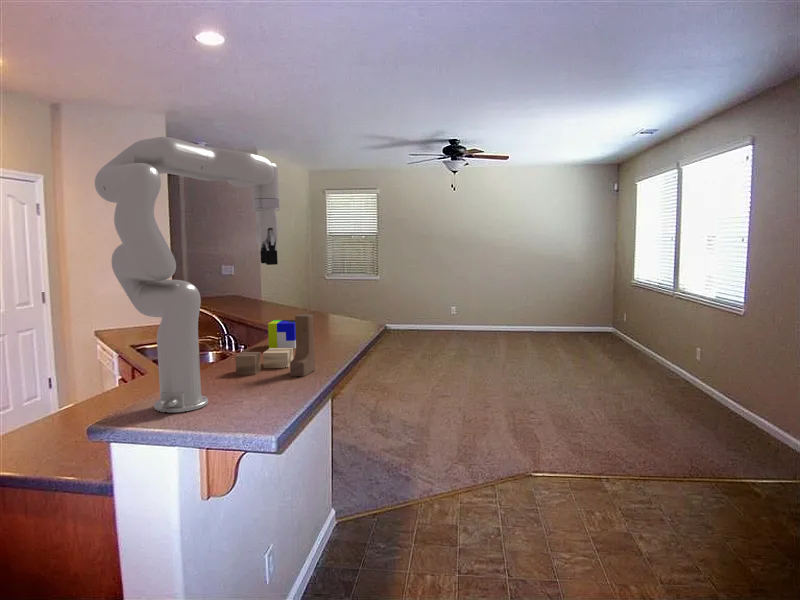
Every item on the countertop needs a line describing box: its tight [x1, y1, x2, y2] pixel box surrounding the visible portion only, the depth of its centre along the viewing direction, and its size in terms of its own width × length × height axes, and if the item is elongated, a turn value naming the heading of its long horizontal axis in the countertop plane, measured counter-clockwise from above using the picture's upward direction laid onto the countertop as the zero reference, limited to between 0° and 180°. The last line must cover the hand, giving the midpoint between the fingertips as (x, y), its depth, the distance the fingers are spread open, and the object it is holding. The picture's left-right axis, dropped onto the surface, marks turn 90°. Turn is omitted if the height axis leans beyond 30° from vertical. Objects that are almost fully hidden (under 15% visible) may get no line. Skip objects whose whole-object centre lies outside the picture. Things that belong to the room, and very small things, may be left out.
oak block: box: [262, 347, 294, 369], centre depth 184 cm, size 8×8×5 cm
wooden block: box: [289, 313, 316, 378], centre depth 171 cm, size 9×4×18 cm, turn 166°
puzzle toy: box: [267, 319, 296, 350], centre depth 216 cm, size 10×10×10 cm
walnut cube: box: [235, 351, 262, 376], centre depth 174 cm, size 6×6×6 cm
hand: (269, 263), depth 164 cm, fingers open, 9 cm apart
